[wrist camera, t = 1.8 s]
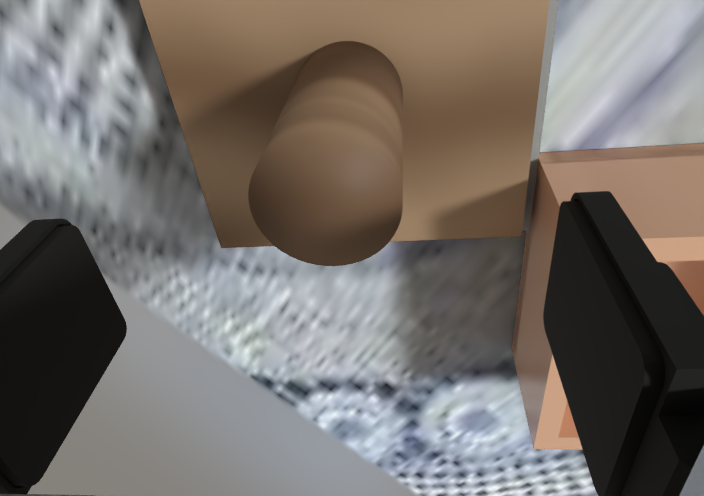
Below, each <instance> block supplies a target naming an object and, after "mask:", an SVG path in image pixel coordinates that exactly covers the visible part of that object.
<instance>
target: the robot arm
mask: <svg viewBox="0 0 704 496" xmlns="http://www.w3.org/2000/svg"><path fill="white" fill-rule="evenodd" d="M543 322H544V329H545V332H546V336H547V339H548V342H549V345H550V348H551V351H552V354H553V358H554V361H555V364H556V367H557V370H558V373H559V377H560V380H561V383H562V386H563V389H564V392H565V395H566V399H567V402H568V405H569V408H570V411H571V414H572V417H573V421H574V424H575V427H576V430H577V433H578V436H579V440H580V443H581V446H582V449H583V452H584V455H585V458H586V462H587V465H588V468H589V471H590V474H591V477H592V481H593V484H594V487H595V489H596V492H597V493H598V495H599V496H704V315H703V314H702V312H701V311H700V310H699V308H698V307H697V305H696V304H695V302H694V301H693V299H692V298H691V296H690V295H689V294H688V292H687V291H686V289H685V288H684V286H683V285H682V283H681V282H680V280H679V279H678V278H677V276H676V275H675V273H674V272H673V270H672V269H671V268H670V267H669V266H668V265H667V264H665V263H662V262H657V261H656V259H655V258H654V256H653V255H652V253H651V252H650V250H649V249H648V247H647V246H646V244H645V243H644V241H643V240H642V238H641V237H640V235H639V234H638V232H637V231H636V229H635V228H634V226H633V225H632V223H631V221H630V220H629V218H628V217H627V215H626V214H625V212H624V211H623V209H622V208H621V206H620V205H619V203H618V202H617V200H616V199H615V197H614V196H613V194H612V193H611V192H610V191H597V192H577V193H574V194H573V195H572V198H571V201H563V202H562V203H561V205H560V209H559V215H558V221H557V228H556V234H555V240H554V247H553V253H552V259H551V266H550V272H549V279H548V285H547V291H546V298H545V304H544V311H543ZM126 329H127V328H126V322H125V319H124V317H123V315H122V313H121V311H120V309H119V307H118V305H117V303H116V302H115V300H114V298H113V296H112V294H111V292H110V290H109V288H108V286H107V284H106V282H105V280H104V278H103V276H102V274H101V272H100V270H99V268H98V266H97V264H96V262H95V260H94V258H93V256H92V254H91V252H90V250H89V248H88V246H87V244H86V242H85V240H84V238H83V236H82V234H81V232H80V231H79V229H78V228H77V227H76V226H73V225H71V223H70V222H68V221H67V220H65V219H44V220H33V221H32V222H30V223H29V224H27V225H26V226H25V227H24V228H23V229H22V230H21V231H20V232H19V233H18V234H17V235H16V236H15V237H14V238H13V239H11V240H10V241H9V242H8V243H7V244H6V245H5V246H4V247H3V248H2V249H1V250H0V496H93V495H37V494H27V493H28V491H29V490H30V488H31V486H33V485H35V484H36V483H37V482H39V481H40V479H41V478H42V477H43V475H44V473H45V472H46V470H47V468H48V466H49V465H50V463H51V461H52V460H53V458H54V456H55V455H56V453H57V451H58V449H59V448H60V446H61V444H62V443H63V441H64V439H65V438H66V436H67V434H68V433H69V431H70V429H71V428H72V426H73V424H74V423H75V421H76V419H77V418H78V416H79V414H80V413H81V411H82V409H83V408H84V406H85V404H86V402H87V401H88V399H89V397H90V396H91V394H92V392H93V391H94V389H95V387H96V385H97V384H98V382H99V381H100V379H101V377H102V375H103V374H104V372H105V371H106V369H107V367H108V365H109V364H110V362H111V360H112V359H113V357H114V355H115V354H116V352H117V350H118V348H119V347H120V345H121V343H122V342H123V340H124V338H125V336H126Z"/></svg>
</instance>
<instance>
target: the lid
mask: <svg viewBox="0 0 704 496" xmlns="http://www.w3.org/2000/svg"><path fill="white" fill-rule="evenodd" d="M549 1H550V0H139V2H140V5H141V8H142V11H143V14H144V17H145V20H146V23H147V26H148V29H149V32H150V35H151V38H152V41H153V44H154V47H155V50H156V53H157V56H158V59H159V62H160V65H161V68H162V71H163V74H164V77H165V80H166V83H167V86H168V89H169V92H170V95H171V98H172V101H173V104H174V107H175V110H176V113H177V116H178V119H179V122H180V125H181V128H182V131H183V134H184V137H185V140H186V143H187V146H188V149H189V152H190V155H191V158H192V161H193V164H194V167H195V170H196V173H197V176H198V179H199V182H200V185H201V188H202V191H203V194H204V197H205V200H206V203H207V206H208V209H209V213H210V216H211V219H212V222H213V225H214V228H215V231H216V234H217V237H218V240H219V243H220V246H221V248H232V247H259V246H275V247H277V248H278V249H280V250H281V251H282V252H284V253H286V254H288V255H289V256H291V257H294V258H296V259H298V260H301V261H304V262H307V263H311V264H316V265H324V266H339V265H347V264H352V263H356V262H359V261H362V260H364V259H367V258H369V257H371V256H372V255H374V254H376V253H377V252H379V251H380V250H381V249H382V248H384V247H385V246H386V245H387V244H388V243H389V242H391V241H418V240H444V239H471V238H497V237H522V228H523V220H524V211H525V203H526V194H527V186H528V178H529V169H530V161H531V152H532V144H533V135H534V127H535V119H536V110H537V102H538V93H539V85H540V76H541V68H542V60H543V51H544V43H545V34H546V26H547V17H548V9H549Z"/></svg>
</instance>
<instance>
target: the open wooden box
mask: <svg viewBox="0 0 704 496" xmlns="http://www.w3.org/2000/svg"><path fill="white" fill-rule="evenodd" d="M597 191H610V192H611V193H612V194H613V196H614V197H615V199H616V200H617V202H618V203H619V205H620V206H621V208H622V209H623V211H624V212H625V214H626V215H627V217H628V218H629V220H630V221H631V223H632V225H633V226H634V228H635V229H636V231H637V232H638V234H639V235H640V237H641V238H642V240H643V241H644V243H645V244H646V246H647V247H648V249H649V250H650V252H651V253H652V255H653V256H654V258H655V259H656V261H657V262H662V263H665V264H667V265H668V266H669V267H670V268H671V269H672V270H673V272H674V273H675V275H676V276H677V278H678V279H679V280H680V282H681V283H682V285H683V286H684V288H685V289H686V291H687V292H688V294H689V295H690V296H691V298H692V299H693V301H694V302H695V304H696V305H697V307H698V308H699V310H700V311H701V312H702V314H703V315H704V143H699V144H682V145H664V146H647V147H630V148H612V149H595V150H578V151H560V152H543V153H539V159H538V167H537V174H536V182H535V190H534V198H533V205H532V213H531V221H530V229H529V231H526V238H525V246H524V254H523V262H522V270H521V278H520V286H519V294H518V302H517V310H516V318H515V326H514V334H513V342H512V352H513V357H514V362H515V366H516V371H517V375H518V380H519V384H520V389H521V394H522V398H523V403H524V407H525V412H526V417H527V421H528V426H529V430H530V435H531V439H532V444H533V449H576V450H583V449H582V446H581V443H580V440H579V436H578V433H577V430H576V427H575V424H574V421H573V417H572V414H571V411H570V408H569V405H568V402H567V399H566V395H565V392H564V389H563V386H562V383H561V380H560V377H559V373H558V370H557V367H556V364H555V361H554V358H553V354H552V351H551V348H550V345H549V342H548V339H547V336H546V332H545V329H544V322H543V311H544V304H545V298H546V291H547V285H548V279H549V272H550V266H551V259H552V253H553V247H554V240H555V234H556V228H557V221H558V215H559V209H560V205H561V203H562V202H563V201H571V198H572V195H573V194H574V193H577V192H597Z"/></svg>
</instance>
